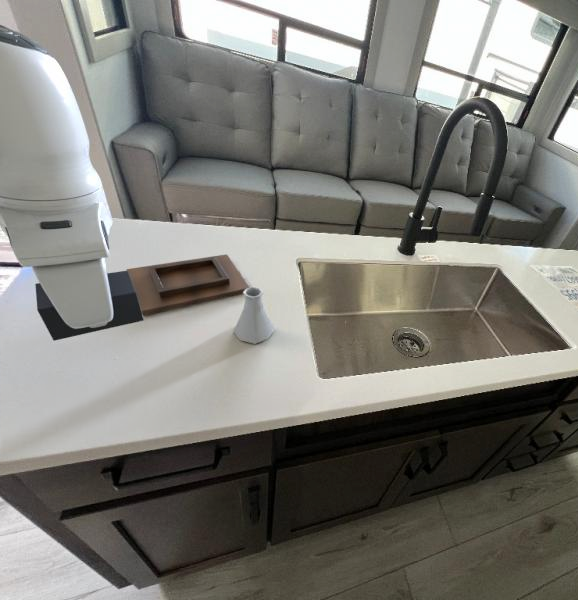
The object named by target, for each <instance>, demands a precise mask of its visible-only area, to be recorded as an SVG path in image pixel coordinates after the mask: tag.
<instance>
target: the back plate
mask: <svg viewBox="0 0 578 600" xmlns="http://www.w3.org/2000/svg"><path fill="white" fill-rule="evenodd" d="M126 271H128V272H129V275H130V278H131V281H132V283H133V286H134V289H135V292H136V295H137V298H138V302H139V305H140V309H141V312H142V316H147V315H152V314H157V313H161V312H166V311H170V310H175V309H180V308H184V307H187V306H193V305H196V304H201V303H206V302H210V301H215V300H219V299H224V298H229V297H233V296H236V295H241V294H242V295H243V292H244V291H245V289H246V288H250V287H251V286H250V285H249V284H248V282H247V280H246V279H245V278H244V276H243V275H242V273H241V272H240V271H239V269H238V268H237V267H236V265H235V264H234V262H233V260H232V259H231V258H230V256H229V255H228V254H227V253H226V254H220V255H213V256H206V257H199V258H192V259H186V260H185V259H184V260H178V261H173V262H165V263H159V264H158V263H157V264H152V265H145V266H139V267H132V268H131V267H130V268H126Z"/></svg>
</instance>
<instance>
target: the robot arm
mask: <svg viewBox="0 0 578 600" xmlns="http://www.w3.org/2000/svg"><path fill="white" fill-rule="evenodd" d="M90 145H91V143H90V138H89V135H88V132H87V127H86V124H85V122H84V118H83V116H82V113H81V109H80V107H79V103H78V102H77V100H76V97H75V94H74V92H73V89H72V87H71V85H70V82H69V80H68V78H67V75H66V74H65V72H64V70H63V68H62V66H61V65H60V64H59V62H58V61H57V60H56V59H55V57H54V56H53V55H52V54H51V53H49V52H48V51H47V49H45V48H44V47H43V46H41V45H40V44H38V43H37V42H36V41H34V40H33V39H31V38H30V37H29V36H26V35H25V34H23V33H21V32H20V31H16V30H13V29H10V28H9V27H7V26H5V25H2V24H0V229H1V230H2V232H3V233H4V234H5V235H6V237H7V238H8V241H9V245H10V247H11V249H12V252H13V254H14V256H15V258H16V260H17V263H18V264H19V265H20V266H21V267H23V268H30V267H31V268H32V271H33V273H34V275H35V277H36V279H37V281H38V283H40V284H41V286H42V288H43V289H44V291H45V293H46V294H47V296H48V297H49V299H50V301H51V302H52V304H53V305H54V307H55V309H56V310H57V312H58V313H59V315H60V316H61V318H62V319H63V320H64V322H65V323H66V324H67V325H68V326H70V327H72V328H75V329H78V328H84V327H90V328H96V327H100V326H105V325H106V324H107V322H110V321H111V320H112V319H113V305H112V299H111V293H110V287H109V281H108V276H107V273H108V271H107V270H108V269H107V265H106V258H108V257H110V255H111V254H110V245H109V234H110V231H111V227H112V226H113V223H114V222H113V216H112V213H111V209H110V206H109V202H108V199H107V197H106V193H105V188H104V186H103V182H102V179H101V177H100V175H99V173H98V172H97V171H96V169H95V168H94V166H93V163H92V161H91V157H90V148H91V147H90Z"/></svg>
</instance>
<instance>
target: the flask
mask: <svg viewBox="0 0 578 600" xmlns="http://www.w3.org/2000/svg"><path fill="white" fill-rule="evenodd" d="M242 295H243V296H244V303H243V304H244V305H243V309H242V311H241V314H240V316H239V318H238V320H237V323H236V324H235V326H234V329H233V331H232V332H233V333H234V335H235V336H236V337H237V338H238V339H239V341H241V342H246V343H249V344H253V345H257V344H258V343H261V342H263V341H266V340H268V339H270V337H271V336H272V334H273V333H274V331H275V330H276V328H275V325H274V324H273V323H272V321H271V319H270V317H269V315H268V314H267V311H266V309H265V308H264V305H263V304H264V303H263V301H262V298H263V297H262V296H263V295H264V291H263V290H262V289H261V288H260V287H256V286H250V288H246V289H245V291H244V292H243V293H242Z"/></svg>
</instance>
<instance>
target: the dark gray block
mask: <svg viewBox="0 0 578 600" xmlns="http://www.w3.org/2000/svg"><path fill="white" fill-rule="evenodd" d="M107 276H108V281H109V287H110V293H111V299H112V305H113V319H112V320H111V321H110V322H107V324H106V325H105V326H100V327H96V328H90V327H84V328H78V329H75V328H72V327H70V326H68V325H67V324H66V323H65V322H64V320H63V319H62V318H61V316H60V315H59V313H58V312H57V310H56V309H55V307H54V305H53V304H52V302H51V301H50V299H49V297H48V296H47V294H46V293H45V291H44V289H43V288H42V286H41V284H40V283H39V282H37V283H35V284H34V286H35V297H36V307H37V308H36V311H37V312H38V314H39V316H40V318H41V320H42V322H43V323H44V325H45V327H46V329H47V331H48V333H49V335H50V337H51V339H52V341H54V342H55V341H59V340H64V339H67V338H72V337H77V336H82V335H86V334H91V333H94V332H99V331H103V330H108V329H112V328H118V327H122V326H126V325H131V324H134V323H139V322H143V321H144V320H145V319H144V315H143V314H142V311H141V308H140V305H139V302H138V298H137V295H136V292H135V289H134V286H133V283H132V281H131V278H130V275H129V272H128V271H127V270H122V271H121V270H120V271H114V272H113V271H112V272H107Z"/></svg>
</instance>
